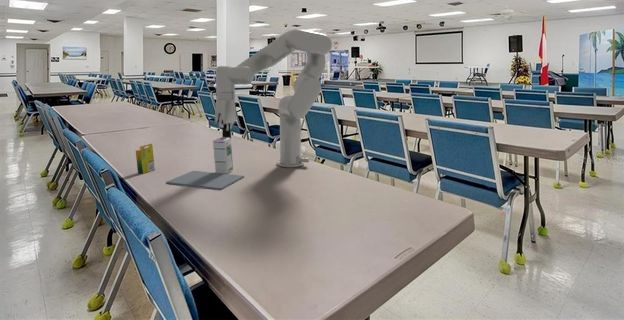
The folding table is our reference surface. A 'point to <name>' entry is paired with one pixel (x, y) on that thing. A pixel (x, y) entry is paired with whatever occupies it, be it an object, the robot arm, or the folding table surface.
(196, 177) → the mat
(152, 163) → the crayon box
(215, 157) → the syrup box
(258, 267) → the folding table surface
